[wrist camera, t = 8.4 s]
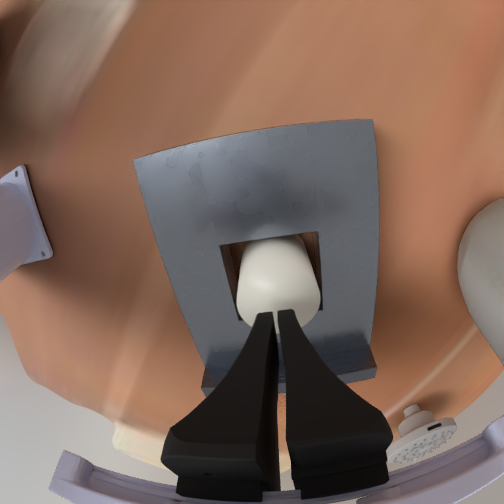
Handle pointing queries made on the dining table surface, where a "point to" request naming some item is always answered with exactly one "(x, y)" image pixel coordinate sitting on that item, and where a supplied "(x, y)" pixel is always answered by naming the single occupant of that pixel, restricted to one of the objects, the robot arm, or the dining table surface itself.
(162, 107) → the dining table surface
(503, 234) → the grey green bottle
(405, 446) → the showerhead
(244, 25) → the dining table surface
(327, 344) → the jig
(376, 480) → the robot arm
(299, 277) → the white rounded capsule
